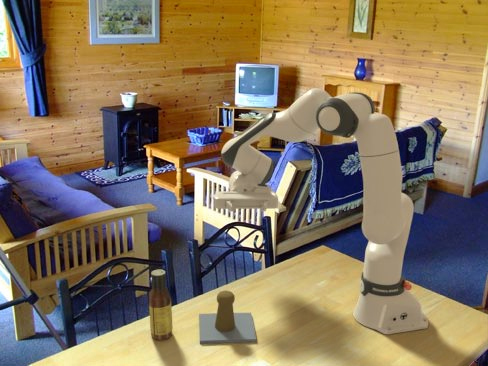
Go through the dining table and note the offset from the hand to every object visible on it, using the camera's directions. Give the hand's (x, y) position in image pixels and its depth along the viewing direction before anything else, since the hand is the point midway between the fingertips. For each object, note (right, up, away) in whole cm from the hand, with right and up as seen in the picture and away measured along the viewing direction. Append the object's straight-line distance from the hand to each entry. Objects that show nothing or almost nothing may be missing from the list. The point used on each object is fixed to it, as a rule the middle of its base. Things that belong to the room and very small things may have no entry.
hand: (248, 209), depth 162 cm
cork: (-7, -34, -6) cm, 35 cm away
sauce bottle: (-25, -36, -9) cm, 45 cm away
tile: (-6, -35, -5) cm, 36 cm away
